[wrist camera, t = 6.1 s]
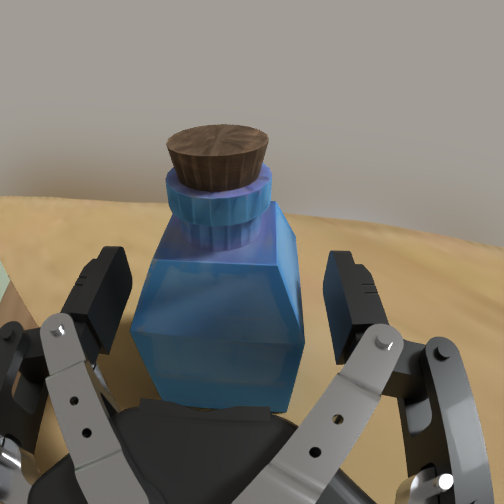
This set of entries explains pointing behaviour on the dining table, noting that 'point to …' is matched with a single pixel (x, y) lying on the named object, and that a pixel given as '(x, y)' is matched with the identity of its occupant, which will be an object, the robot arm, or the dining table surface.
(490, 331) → the dining table surface
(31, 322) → the tower base block
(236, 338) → the perfume bottle
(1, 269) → the tower top block
